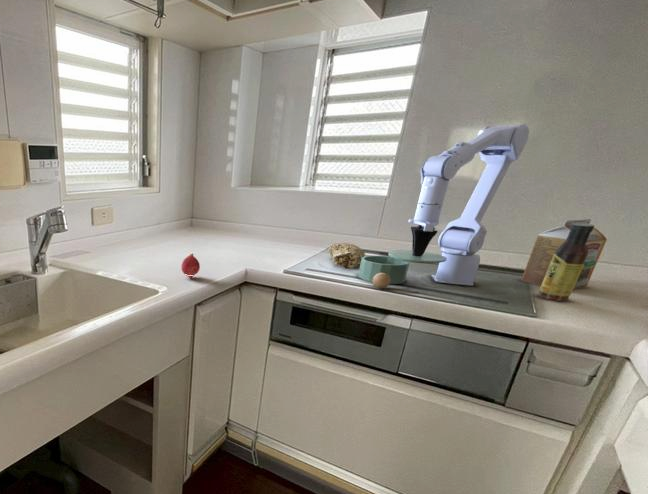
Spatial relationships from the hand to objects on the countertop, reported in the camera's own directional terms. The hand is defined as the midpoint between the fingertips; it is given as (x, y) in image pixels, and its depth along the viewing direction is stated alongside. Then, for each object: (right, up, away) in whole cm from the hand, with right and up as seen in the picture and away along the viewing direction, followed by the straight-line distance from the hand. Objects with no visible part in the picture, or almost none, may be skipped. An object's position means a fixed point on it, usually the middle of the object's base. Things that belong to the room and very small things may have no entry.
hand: (417, 253), depth 114 cm
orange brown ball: (-8, -9, +5) cm, 13 cm away
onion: (-63, -5, +16) cm, 65 cm away
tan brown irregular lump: (-4, +3, +35) cm, 35 cm away
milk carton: (+46, -8, +8) cm, 48 cm away
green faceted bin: (-2, -5, +14) cm, 15 cm away
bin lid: (0, -1, 0) cm, 1 cm away
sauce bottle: (+33, -13, -5) cm, 36 cm away
